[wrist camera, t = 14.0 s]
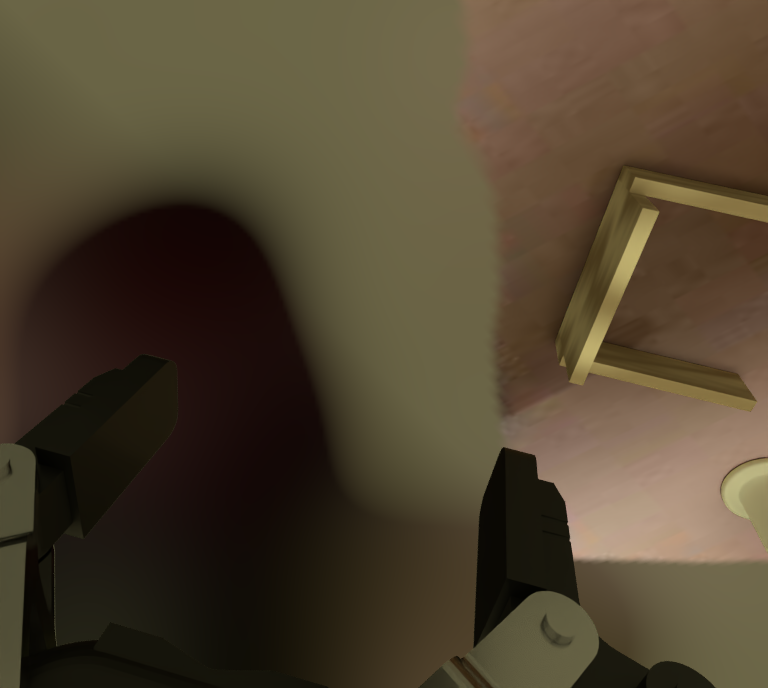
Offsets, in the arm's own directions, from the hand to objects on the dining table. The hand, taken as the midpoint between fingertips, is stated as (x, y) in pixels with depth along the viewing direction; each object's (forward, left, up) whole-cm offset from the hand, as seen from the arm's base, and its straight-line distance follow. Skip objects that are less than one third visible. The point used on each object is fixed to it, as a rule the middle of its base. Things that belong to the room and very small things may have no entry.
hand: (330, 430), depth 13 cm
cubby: (+5, +20, -33) cm, 39 cm away
